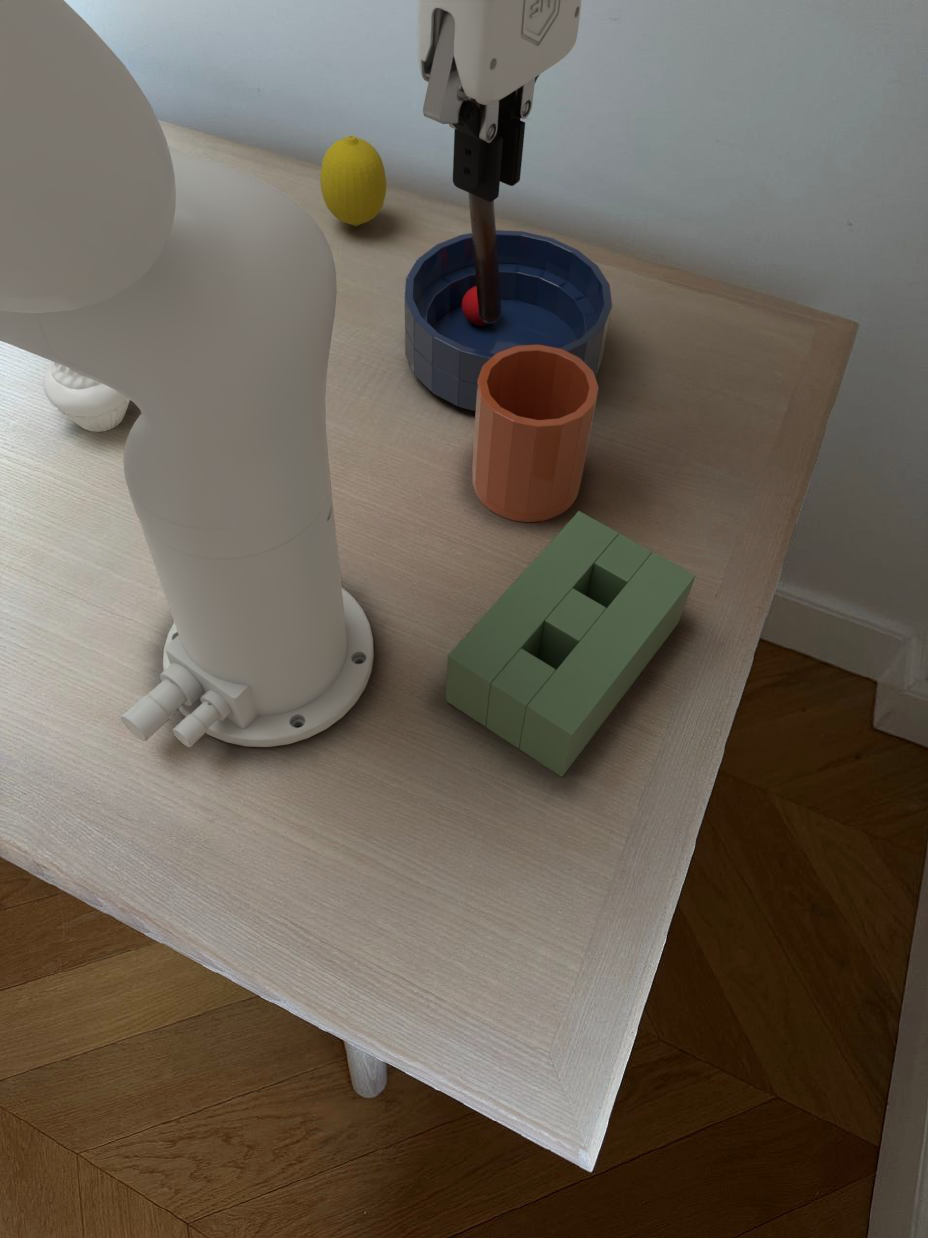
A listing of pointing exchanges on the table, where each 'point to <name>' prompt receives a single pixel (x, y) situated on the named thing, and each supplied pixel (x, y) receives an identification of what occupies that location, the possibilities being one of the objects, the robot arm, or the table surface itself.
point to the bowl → (530, 309)
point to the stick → (485, 255)
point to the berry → (472, 307)
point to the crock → (532, 431)
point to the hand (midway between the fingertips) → (486, 182)
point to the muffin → (84, 399)
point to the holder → (567, 641)
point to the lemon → (353, 180)
